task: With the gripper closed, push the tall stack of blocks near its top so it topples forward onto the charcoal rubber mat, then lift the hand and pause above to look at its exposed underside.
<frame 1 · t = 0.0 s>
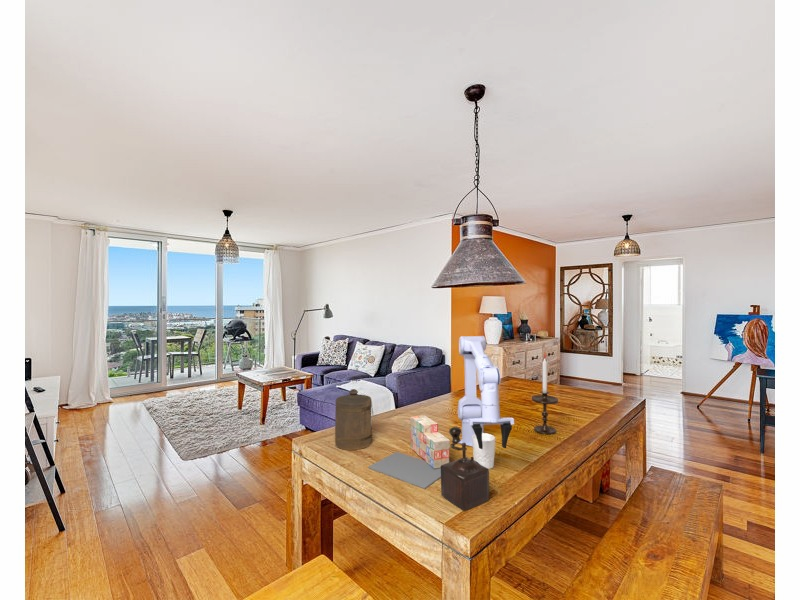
hand: (492, 448, 123), 11 cm above the table, tool pointing down, fingers open, 7 cm apart
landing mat: (409, 469, 131), on the table
white cup: (483, 465, 134), on the table
wooden container: (353, 443, 155), on the table
coffee grinder: (459, 494, 115), on the table
stack of blocks: (428, 457, 141), on the table, touching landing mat
candlestick: (545, 431, 167), on the table
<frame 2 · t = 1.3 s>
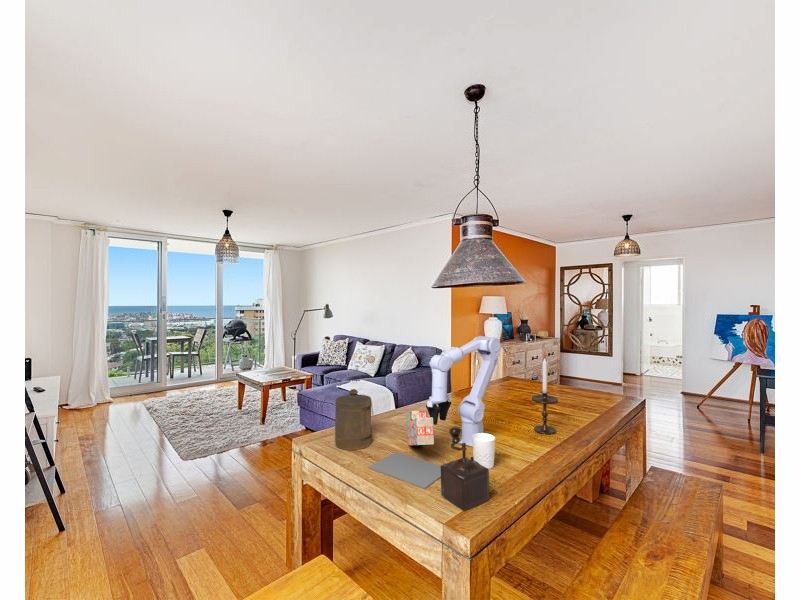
hand: (438, 422, 146), 11 cm above the table, tool pointing down, fingers open, 6 cm apart
stack of blocks: (420, 445, 142), point 4 cm above the table
everything else where it was.
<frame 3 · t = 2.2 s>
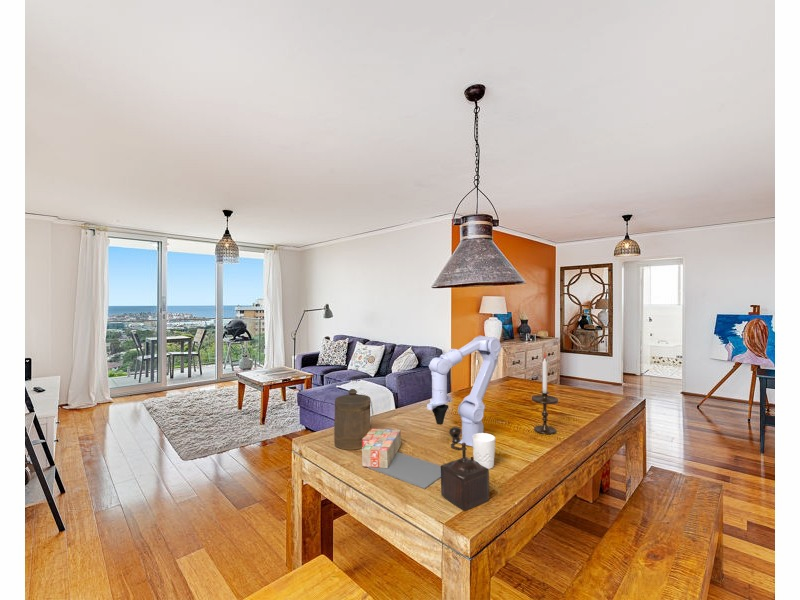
hand: (439, 424, 147), 10 cm above the table, tool pointing down, fingers closed
stack of blocks: (395, 447, 141), point 4 cm above the table, touching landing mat
everything else where it was.
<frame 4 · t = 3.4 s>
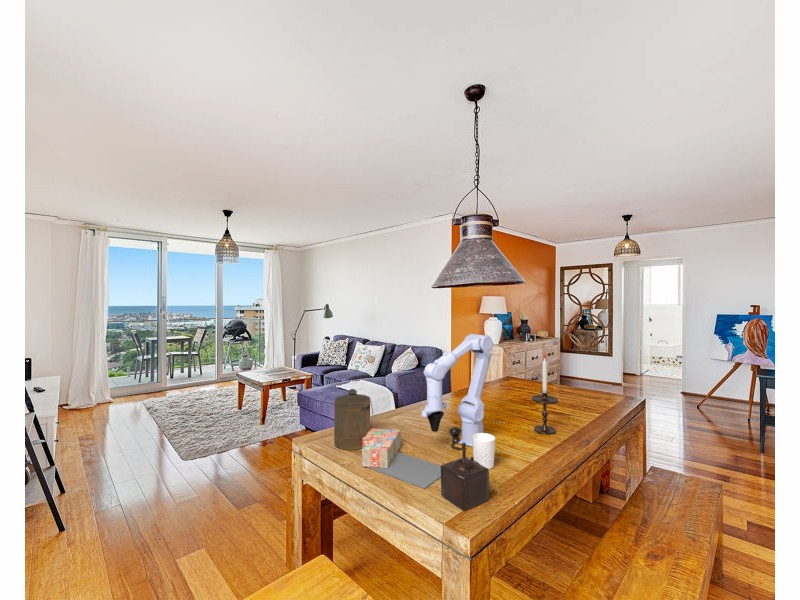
hand: (434, 431, 144), 8 cm above the table, tool pointing down, fingers closed
nothing on the table moved.
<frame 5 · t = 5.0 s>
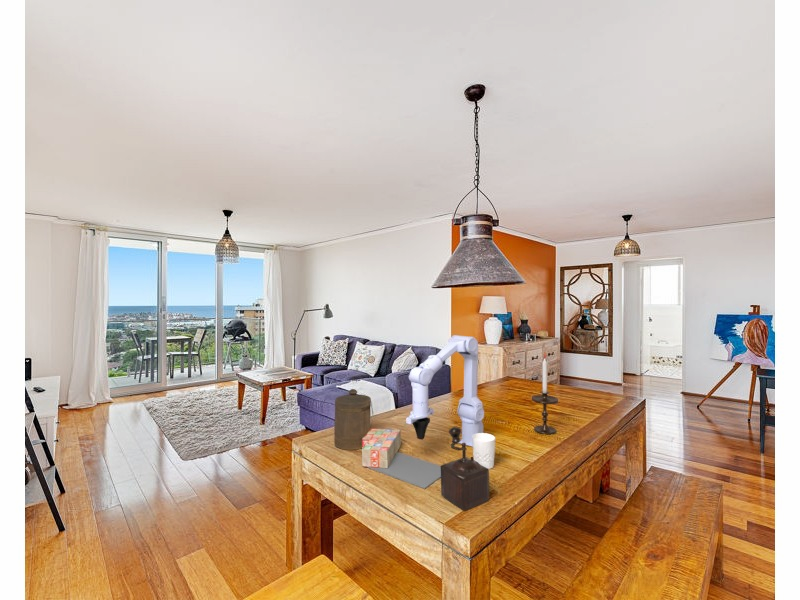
hand: (420, 438, 137), 8 cm above the table, tool pointing down, fingers closed
nothing on the table moved.
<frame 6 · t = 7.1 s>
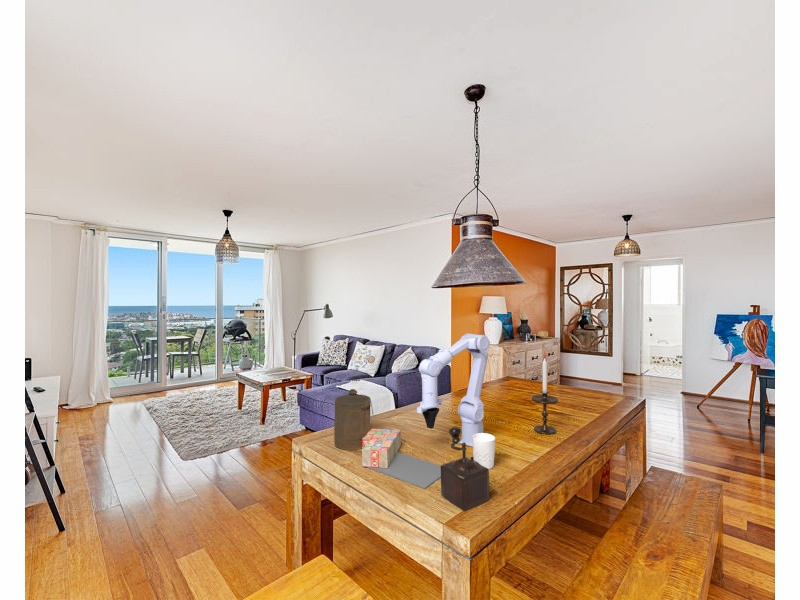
hand: (430, 427, 143), 10 cm above the table, tool pointing down, fingers closed
nothing on the table moved.
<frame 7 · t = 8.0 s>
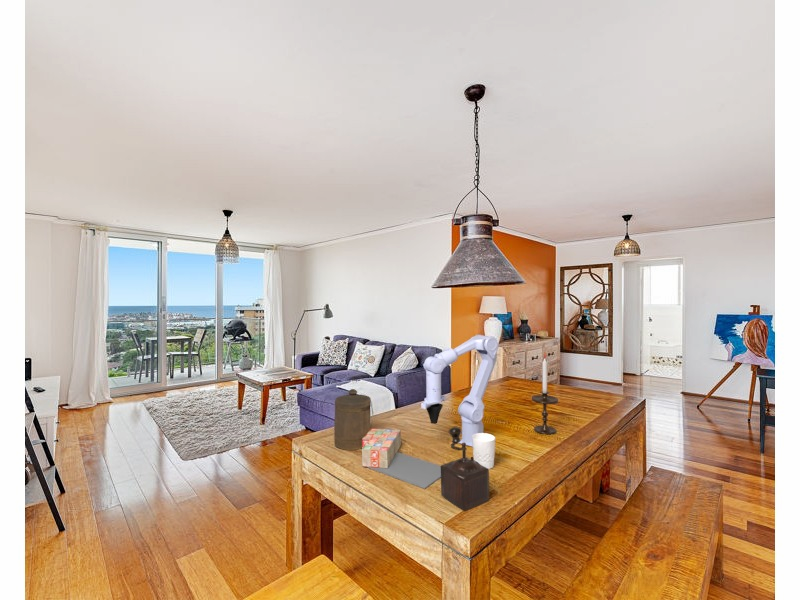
hand: (434, 423, 147), 10 cm above the table, tool pointing down, fingers closed
nothing on the table moved.
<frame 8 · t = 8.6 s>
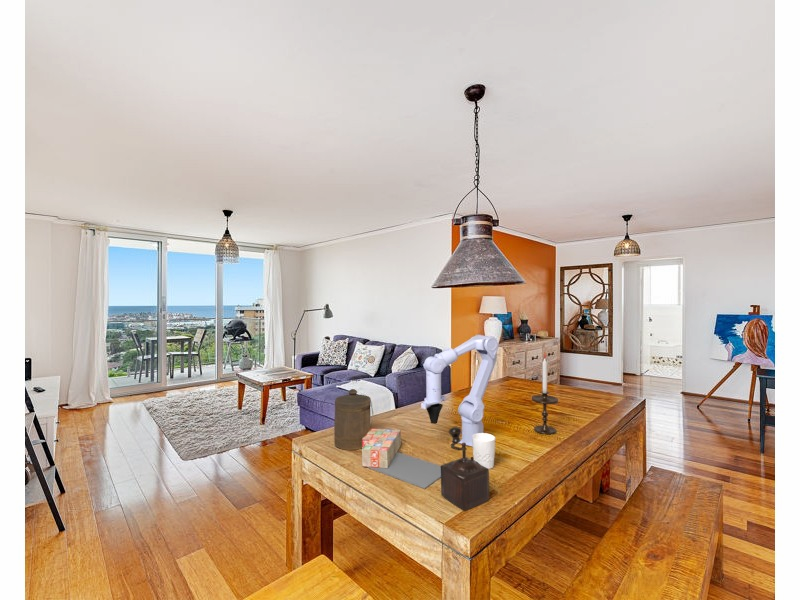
hand: (434, 423, 147), 10 cm above the table, tool pointing down, fingers closed
nothing on the table moved.
at the end: stack of blocks tilted 92°; stack of blocks touching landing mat, table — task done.
